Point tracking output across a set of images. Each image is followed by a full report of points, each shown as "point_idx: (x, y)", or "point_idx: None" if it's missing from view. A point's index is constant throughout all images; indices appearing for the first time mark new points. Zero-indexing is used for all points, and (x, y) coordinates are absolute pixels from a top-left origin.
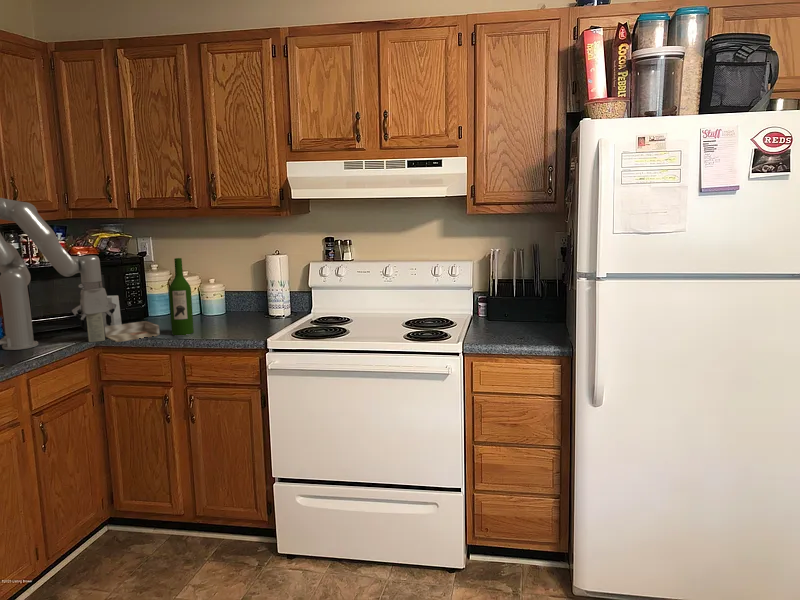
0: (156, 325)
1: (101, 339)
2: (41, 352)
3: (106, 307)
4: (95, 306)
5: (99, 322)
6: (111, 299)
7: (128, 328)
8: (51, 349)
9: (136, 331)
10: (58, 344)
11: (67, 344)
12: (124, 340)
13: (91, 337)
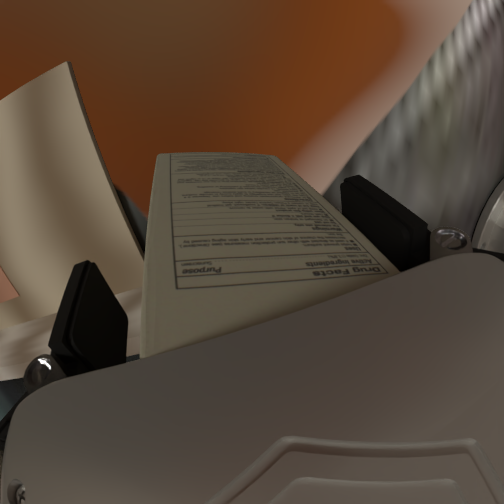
0: None
1: (182, 156)
2: (498, 51)
3: (27, 470)
4: (352, 501)
5: (194, 224)
6: None
7: (24, 340)
8: (470, 83)
9: (3, 330)
10: (426, 195)
11: (398, 167)
12: (16, 91)
13: (266, 165)
